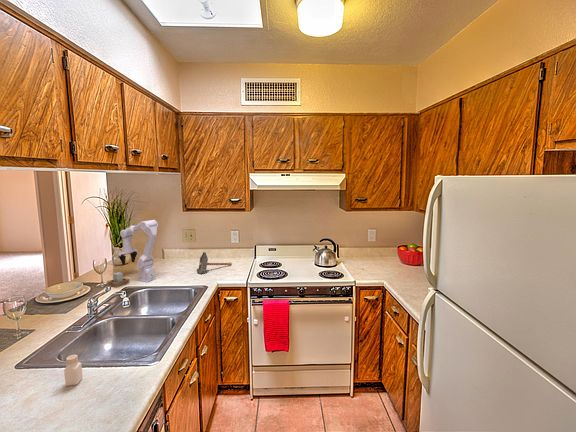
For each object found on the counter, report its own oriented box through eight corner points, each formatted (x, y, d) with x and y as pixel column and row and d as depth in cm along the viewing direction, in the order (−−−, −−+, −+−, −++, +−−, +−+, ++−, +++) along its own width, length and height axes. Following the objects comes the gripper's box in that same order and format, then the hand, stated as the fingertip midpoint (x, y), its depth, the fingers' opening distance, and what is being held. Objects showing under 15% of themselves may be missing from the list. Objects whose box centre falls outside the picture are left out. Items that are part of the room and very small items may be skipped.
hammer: (234, 253, 243) (203, 252, 221) (231, 272, 243) (200, 273, 220) (230, 252, 247) (199, 251, 224) (227, 271, 246) (196, 272, 224)
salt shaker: (64, 386, 100) (62, 361, 99) (71, 379, 104) (68, 354, 103) (77, 385, 101) (75, 359, 100) (83, 377, 105) (81, 353, 104)
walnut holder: (129, 283, 202) (129, 279, 202) (116, 287, 194) (116, 283, 193) (120, 281, 206) (120, 277, 206) (107, 285, 197) (107, 281, 197)
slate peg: (123, 283, 201) (122, 272, 200) (117, 285, 197) (116, 274, 196) (119, 283, 202) (118, 272, 201) (113, 285, 199) (112, 273, 198)
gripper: (132, 243, 222) (133, 260, 224) (114, 247, 209) (115, 265, 211) (138, 243, 219) (139, 261, 221) (120, 247, 206) (122, 266, 208)
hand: (128, 263), depth 216 cm, fingers open, 7 cm apart
